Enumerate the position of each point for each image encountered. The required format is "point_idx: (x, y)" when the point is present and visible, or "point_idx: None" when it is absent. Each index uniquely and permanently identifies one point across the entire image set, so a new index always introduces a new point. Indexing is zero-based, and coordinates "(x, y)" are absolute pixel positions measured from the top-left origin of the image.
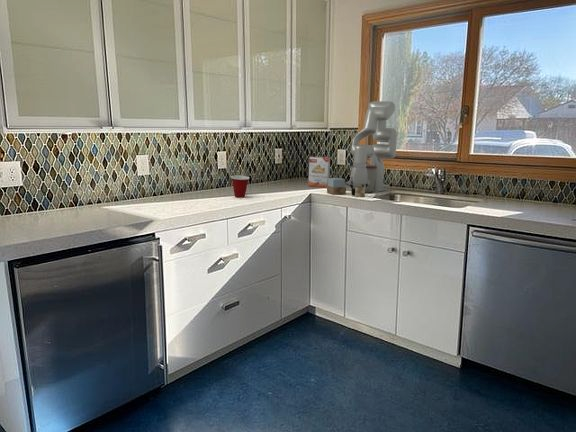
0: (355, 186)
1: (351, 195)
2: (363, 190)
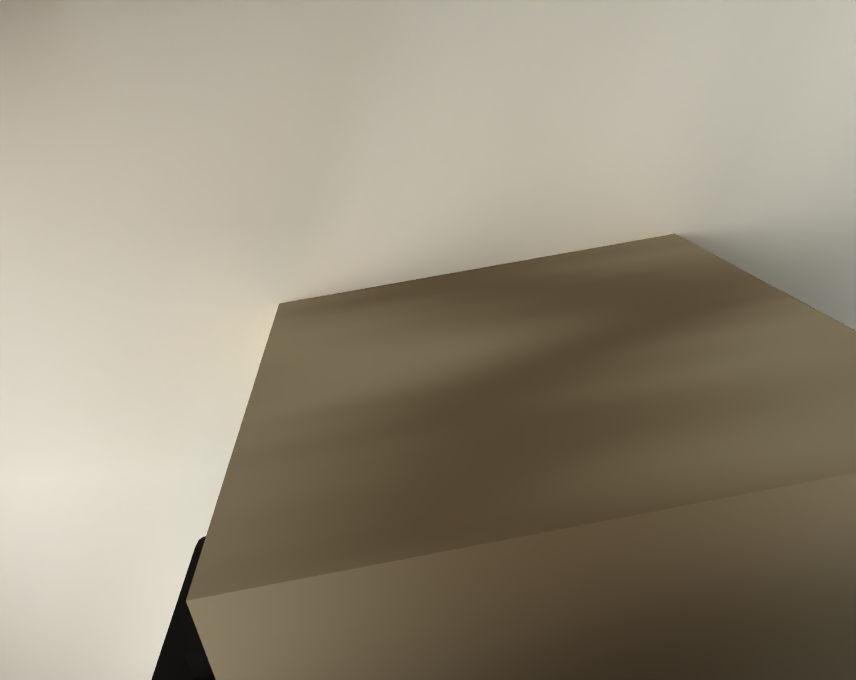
0: (498, 652)
1: (280, 321)
2: None
